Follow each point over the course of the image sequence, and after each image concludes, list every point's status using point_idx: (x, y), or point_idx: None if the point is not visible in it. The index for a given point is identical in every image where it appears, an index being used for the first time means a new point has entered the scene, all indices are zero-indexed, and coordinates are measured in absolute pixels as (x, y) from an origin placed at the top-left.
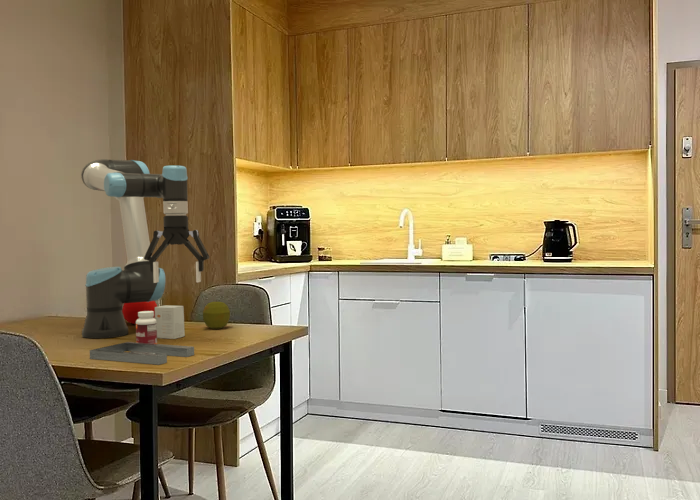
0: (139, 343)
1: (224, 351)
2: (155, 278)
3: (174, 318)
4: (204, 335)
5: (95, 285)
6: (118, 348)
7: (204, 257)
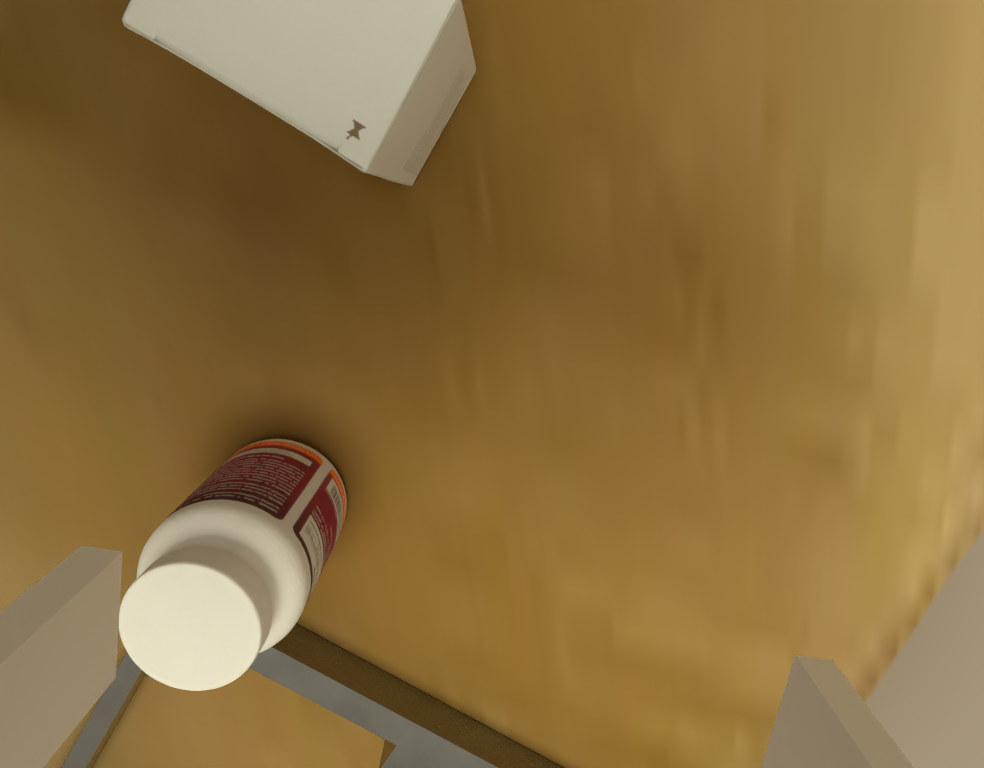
0: (262, 665)
1: None
2: (69, 722)
3: (393, 167)
4: (634, 37)
5: None
6: None
7: None
